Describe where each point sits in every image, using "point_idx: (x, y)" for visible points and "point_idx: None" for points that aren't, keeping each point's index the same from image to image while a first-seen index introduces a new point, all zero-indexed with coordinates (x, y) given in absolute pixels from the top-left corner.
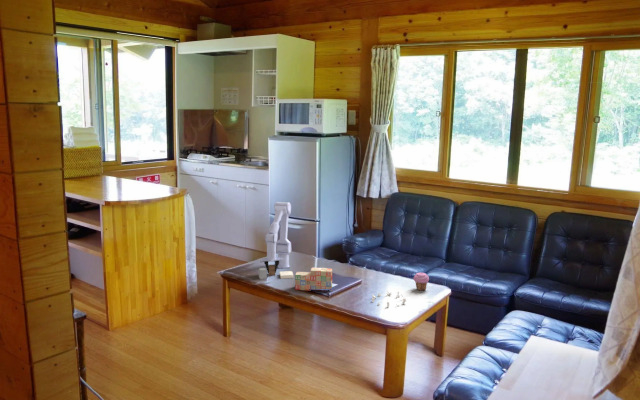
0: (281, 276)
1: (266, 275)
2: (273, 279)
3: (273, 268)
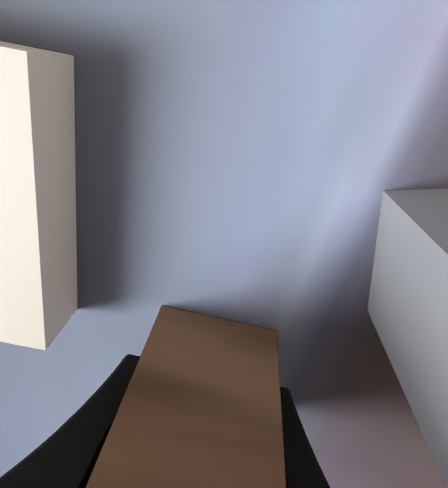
0: (25, 50)
1: (421, 216)
2: (264, 52)
3: (153, 437)
